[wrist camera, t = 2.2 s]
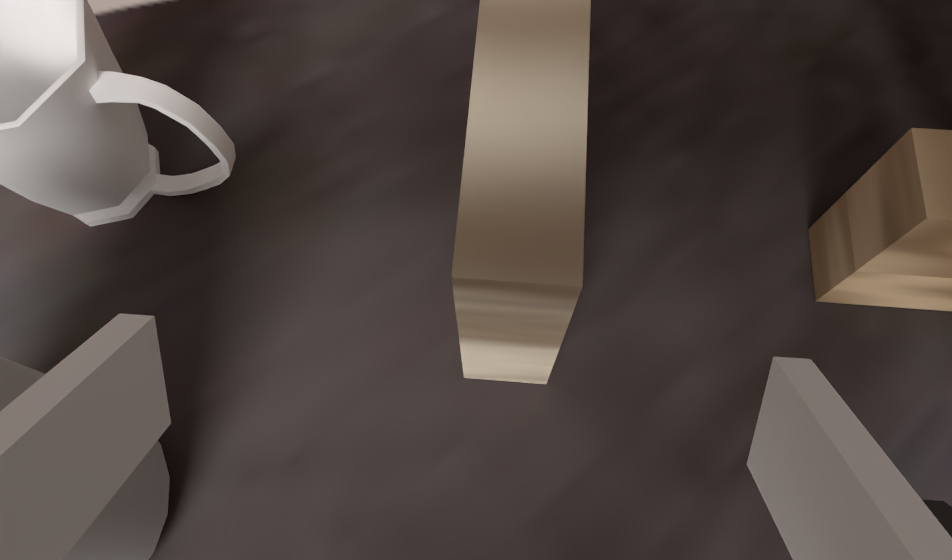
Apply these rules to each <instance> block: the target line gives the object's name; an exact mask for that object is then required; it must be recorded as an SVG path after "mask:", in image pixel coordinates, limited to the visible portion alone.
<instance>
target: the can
mask: <svg viewBox="0 0 952 560" xmlns="http://www.w3.org/2000/svg"><path fill="white" fill-rule="evenodd" d="M44 375H45V374H44V373H42V372H39V371H37V370H34V369H31V368H29V367H26V366H24V365H21V364H19V363H16V362H14V361H11V360H9V359H6V358H4V357H1V356H0V411H1V410H2V409H4V408H5V407H6V406H7V405H9V404H10V403H11V402H12V401H13V400H15V399H16V398H17V397H18V396H20V395H21V394H22V393H23V392H24V391H26V390H27V389H28V388H29V387H30V386H32V385H33V384H34V383H35V382H37V381H38V380H39V379H40V378H41V377H43V376H44ZM169 482H170V477H169V473H168V469H167V465H166V462H165V458H164V454H163V451H162V447H161V444H160V443H159V441H158V440H157V442H156V443H155V444H154V445H153V447H152V448H151V449H150V450H149V452H148V453H147V454H146V456H145V457H144V458H143V459H142V461H141V462H140V463H139V464H138V466H137V467H136V468H135V469H134V471H133V472H132V473H131V474H130V476H129V477H128V478H127V480H126V481H125V482H124V483H123V485H122V486H121V487H120V488H119V490H118V491H117V492H116V493H115V495H114V496H113V497H112V498H111V500H110V501H109V502H108V503H107V505H106V506H105V507H104V509H103V510H102V511H101V512H100V514H99V515H98V516H97V517H96V519H95V520H94V521H93V522H92V524H91V525H90V526H89V527H88V529H87V530H86V531H85V532H84V534H83V535H82V536H81V538H80V539H79V540H78V541H77V543H76V544H75V545H74V546H73V548H72V549H71V550H70V551H69V553H68V554H67V555H66V556H65V558H64V559H63V560H149V559H150V557H151V556H152V554H153V553H154V551H155V548H156V545H157V543H158V540H159V537H160V534H161V531H162V529H163V526H164V523H165V520H166V517H167V515H168V499H169Z"/></svg>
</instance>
